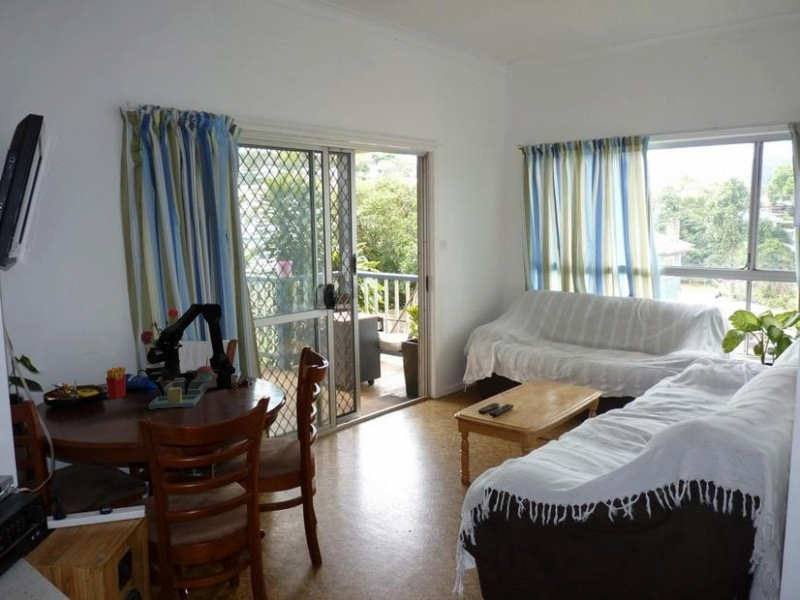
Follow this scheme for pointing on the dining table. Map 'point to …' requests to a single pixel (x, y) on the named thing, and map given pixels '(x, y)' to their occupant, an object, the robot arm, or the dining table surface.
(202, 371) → the cupcake
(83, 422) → the dining table surface
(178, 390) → the block
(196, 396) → the tray
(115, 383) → the french fries
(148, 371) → the coffee mug
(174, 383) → the bin
